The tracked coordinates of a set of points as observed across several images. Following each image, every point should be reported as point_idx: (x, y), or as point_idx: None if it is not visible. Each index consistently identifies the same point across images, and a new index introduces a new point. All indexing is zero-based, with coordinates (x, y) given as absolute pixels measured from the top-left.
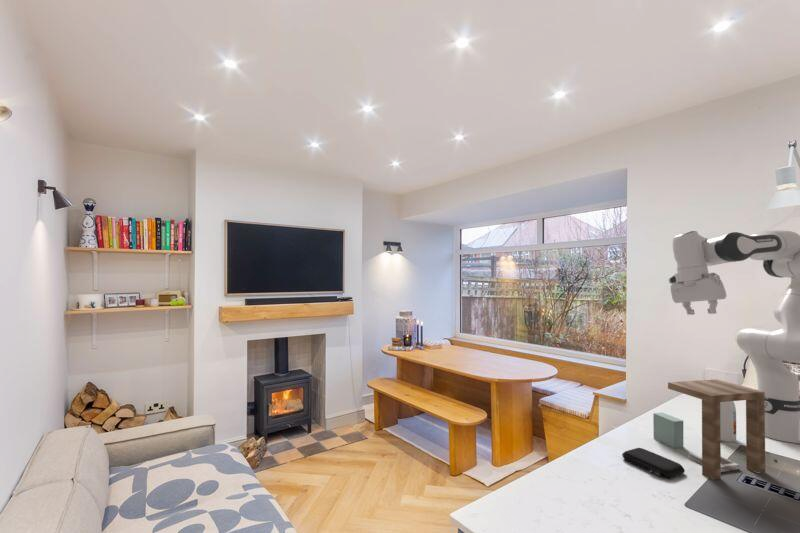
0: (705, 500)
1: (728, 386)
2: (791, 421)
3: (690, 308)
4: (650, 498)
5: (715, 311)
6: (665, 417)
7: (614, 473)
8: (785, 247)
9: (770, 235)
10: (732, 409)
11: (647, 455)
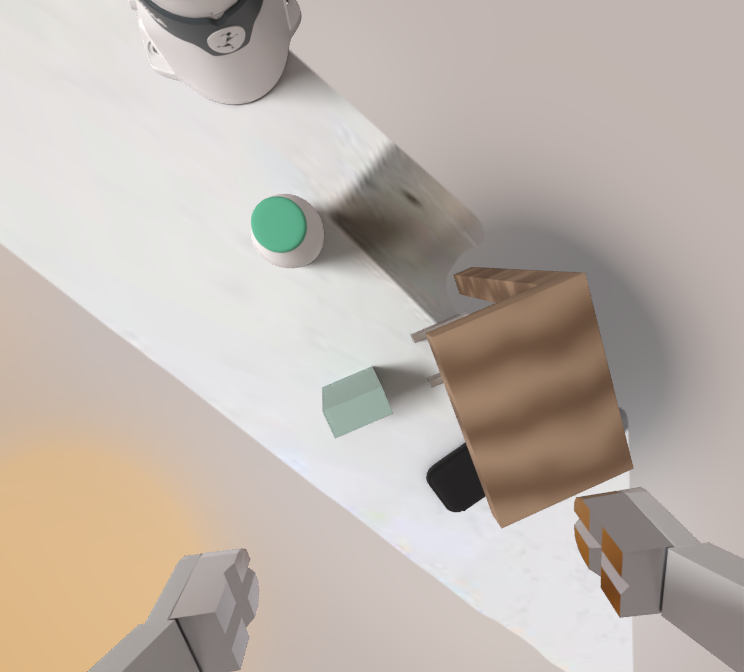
0: None
1: (530, 356)
2: (273, 8)
3: (157, 658)
4: (571, 505)
5: (656, 510)
6: (365, 421)
7: (504, 532)
8: None
9: None
10: (320, 220)
11: (471, 480)
